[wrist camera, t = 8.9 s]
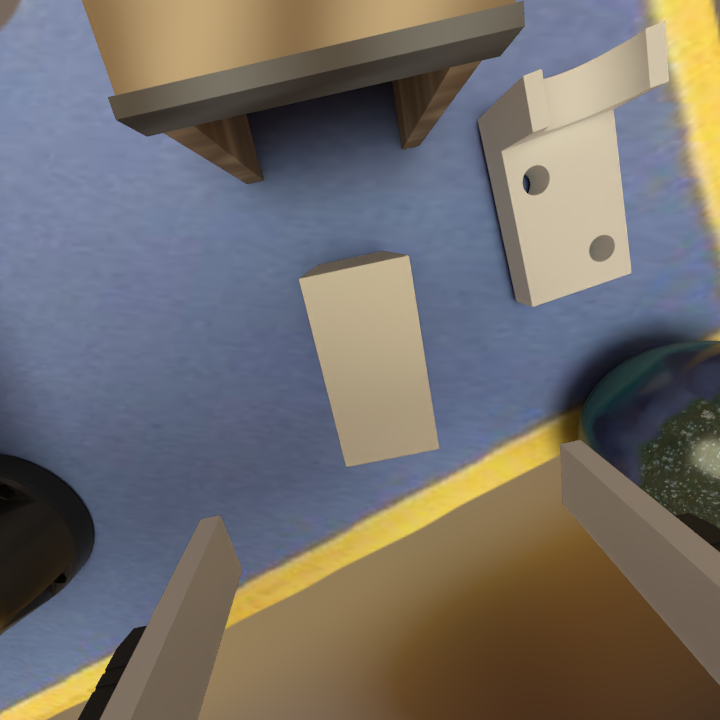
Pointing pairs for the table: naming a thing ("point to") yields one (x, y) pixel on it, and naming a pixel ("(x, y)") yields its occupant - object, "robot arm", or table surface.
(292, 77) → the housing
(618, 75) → the bracket
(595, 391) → the vase
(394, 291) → the tan cardboard carton
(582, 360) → the table surface
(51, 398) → the table surface
